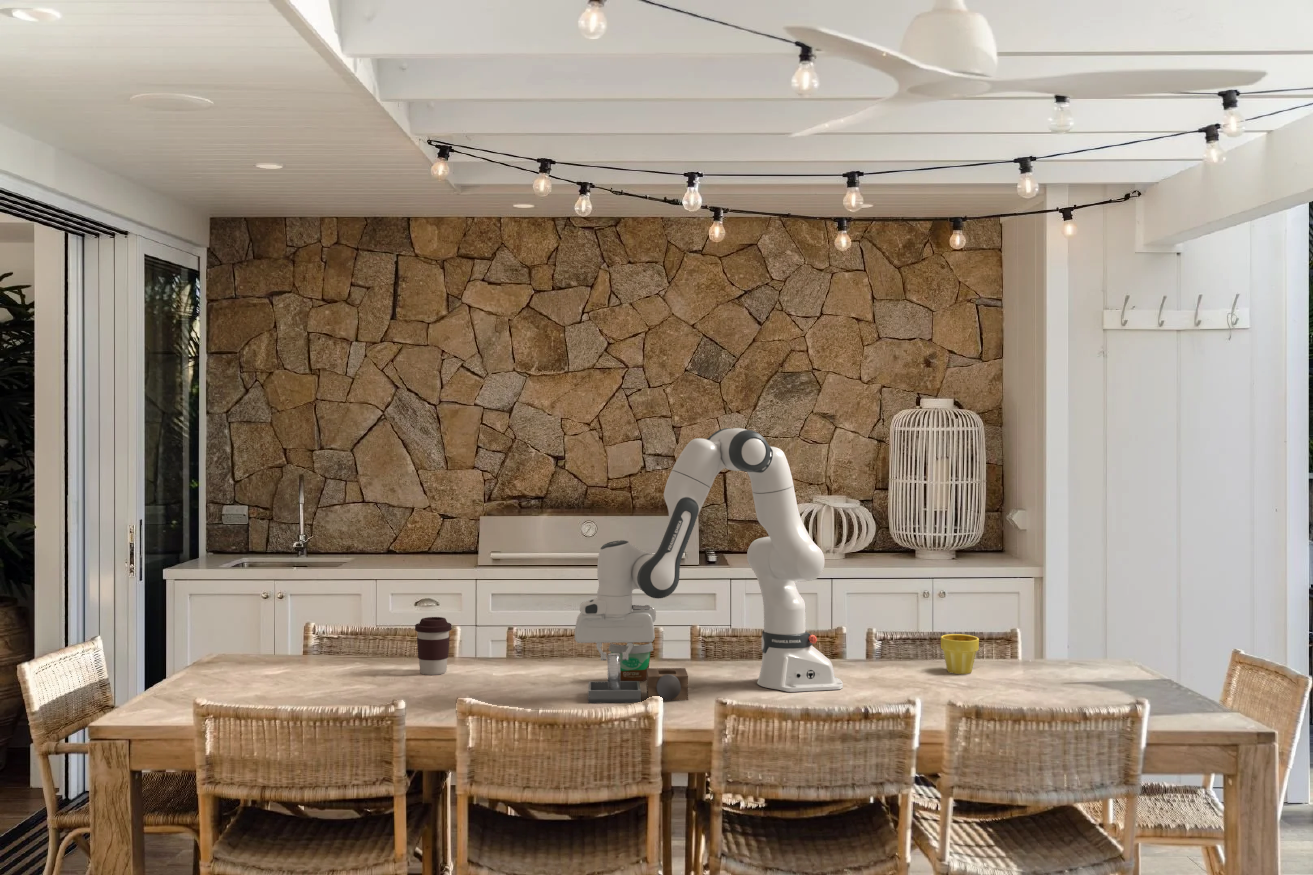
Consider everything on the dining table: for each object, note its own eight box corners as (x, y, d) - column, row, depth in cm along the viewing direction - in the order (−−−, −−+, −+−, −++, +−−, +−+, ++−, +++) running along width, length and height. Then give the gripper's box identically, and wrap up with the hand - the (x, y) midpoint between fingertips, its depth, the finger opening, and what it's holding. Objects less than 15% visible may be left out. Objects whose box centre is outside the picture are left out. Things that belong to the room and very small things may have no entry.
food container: (613, 684, 319) (613, 646, 319) (608, 679, 325) (608, 642, 325) (658, 682, 323) (658, 644, 322) (652, 677, 328) (652, 640, 328)
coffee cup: (455, 669, 337) (455, 616, 337) (445, 676, 328) (446, 621, 327) (420, 668, 338) (421, 615, 338) (410, 675, 328) (410, 621, 328)
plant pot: (969, 677, 331) (970, 641, 330) (934, 672, 337) (934, 637, 337) (984, 671, 339) (984, 636, 339) (949, 666, 345) (950, 632, 345)
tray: (639, 692, 309) (639, 681, 309) (640, 702, 298) (640, 690, 298) (588, 693, 309) (588, 681, 309) (588, 702, 298) (588, 690, 298)
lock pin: (620, 691, 305) (619, 652, 304) (620, 695, 302) (620, 656, 301) (607, 691, 305) (607, 653, 304) (608, 695, 302) (607, 656, 301)
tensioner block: (685, 691, 312) (685, 666, 312) (688, 701, 300) (688, 675, 300) (646, 691, 311) (646, 666, 311) (648, 701, 299) (648, 675, 299)
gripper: (655, 603, 307) (655, 657, 307) (574, 603, 306) (574, 657, 306) (656, 606, 301) (656, 662, 301) (574, 607, 300) (574, 662, 300)
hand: (614, 659), depth 304 cm, fingers open, 4 cm apart
